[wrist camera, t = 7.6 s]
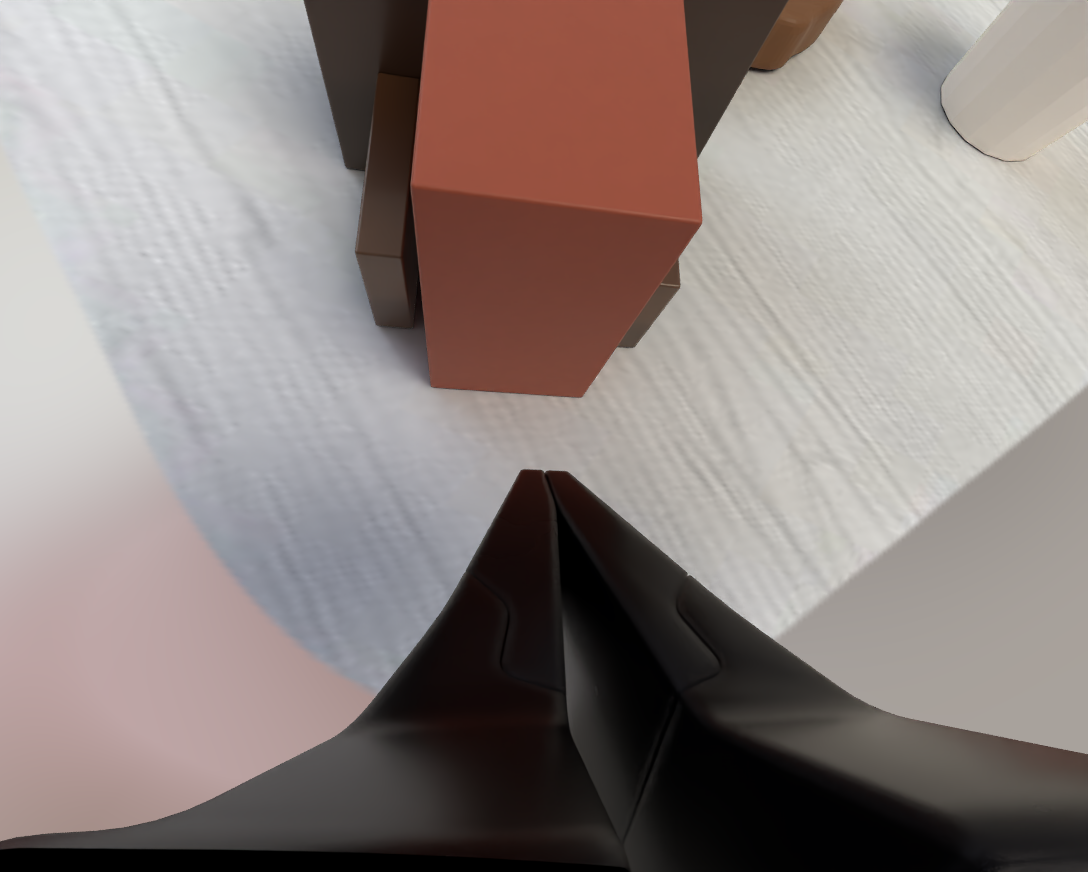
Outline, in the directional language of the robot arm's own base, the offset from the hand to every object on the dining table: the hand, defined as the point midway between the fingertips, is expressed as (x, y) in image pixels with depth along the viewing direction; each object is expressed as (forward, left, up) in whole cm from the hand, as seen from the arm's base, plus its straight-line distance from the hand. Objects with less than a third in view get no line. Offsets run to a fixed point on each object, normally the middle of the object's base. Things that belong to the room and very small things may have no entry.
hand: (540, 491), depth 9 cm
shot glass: (+27, -14, -7) cm, 32 cm away
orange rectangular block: (+8, +3, -7) cm, 11 cm away
